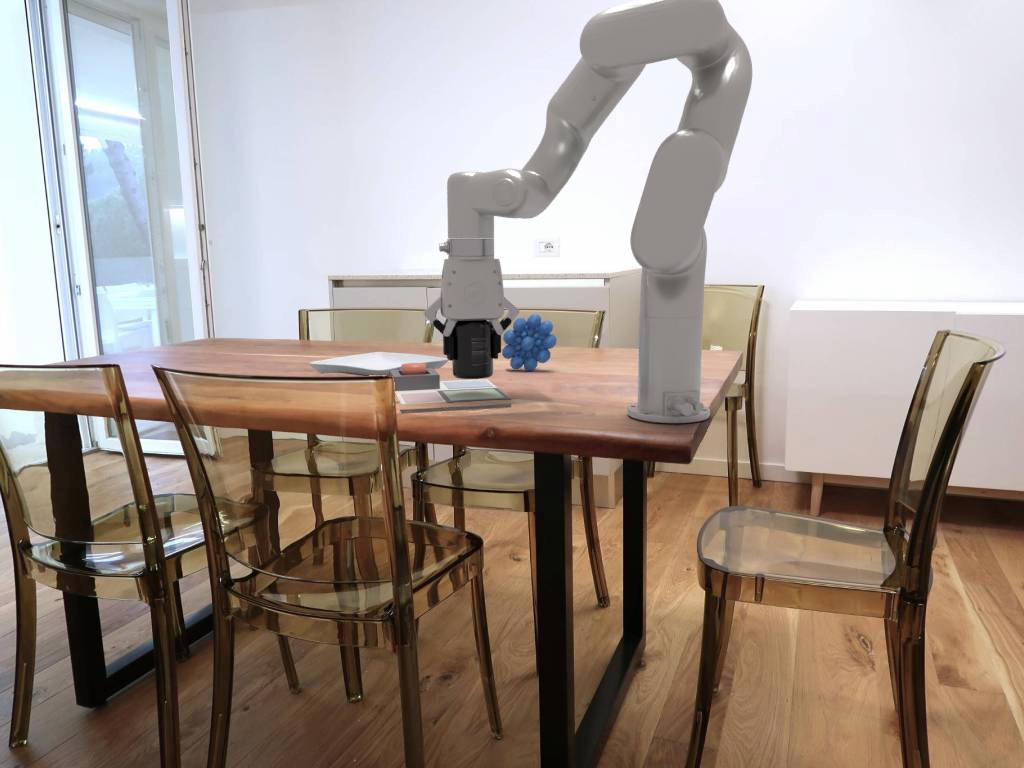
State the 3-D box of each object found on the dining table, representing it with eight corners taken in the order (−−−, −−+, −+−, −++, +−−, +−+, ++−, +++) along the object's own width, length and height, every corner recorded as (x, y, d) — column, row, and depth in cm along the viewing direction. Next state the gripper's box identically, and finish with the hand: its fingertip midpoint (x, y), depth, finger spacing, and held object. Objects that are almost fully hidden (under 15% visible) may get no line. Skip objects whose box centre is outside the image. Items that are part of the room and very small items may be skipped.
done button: (428, 377, 146) (427, 365, 146) (403, 378, 145) (402, 366, 145) (424, 373, 150) (424, 362, 150) (400, 374, 149) (400, 363, 149)
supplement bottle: (495, 373, 142) (495, 303, 140) (490, 380, 135) (489, 306, 133) (455, 373, 142) (454, 303, 140) (448, 379, 136) (447, 306, 134)
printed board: (512, 408, 136) (512, 398, 135) (402, 414, 131) (402, 404, 131) (486, 386, 156) (486, 378, 155) (390, 391, 151) (389, 382, 151)
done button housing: (439, 388, 145) (439, 374, 145) (394, 391, 143) (393, 376, 143) (433, 381, 153) (433, 368, 153) (389, 383, 151) (389, 370, 151)
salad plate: (378, 364, 187) (378, 349, 186) (451, 372, 175) (451, 356, 174) (306, 377, 170) (305, 361, 169) (381, 387, 158) (381, 369, 157)
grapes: (560, 368, 177) (560, 312, 175) (554, 373, 170) (554, 315, 168) (506, 367, 179) (506, 311, 177) (499, 372, 173) (498, 314, 171)
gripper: (421, 251, 129) (423, 363, 132) (528, 250, 133) (528, 359, 137) (415, 250, 137) (417, 357, 140) (517, 249, 141) (517, 353, 144)
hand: (472, 357), depth 138 cm, fingers closed on supplement bottle, 6 cm apart
